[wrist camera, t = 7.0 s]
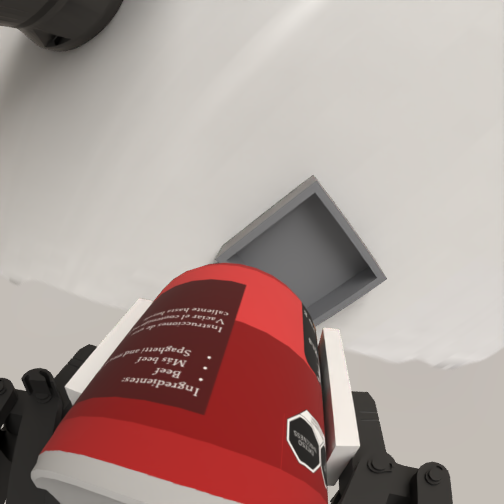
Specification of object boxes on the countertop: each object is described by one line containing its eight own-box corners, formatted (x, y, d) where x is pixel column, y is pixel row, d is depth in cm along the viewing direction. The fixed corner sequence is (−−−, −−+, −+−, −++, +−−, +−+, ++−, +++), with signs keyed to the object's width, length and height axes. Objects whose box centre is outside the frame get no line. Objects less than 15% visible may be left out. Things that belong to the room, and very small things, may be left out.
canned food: (273, 405, 17) (250, 585, 6) (144, 348, 16) (44, 510, 6) (348, 303, 14) (401, 544, 4) (186, 227, 14) (-1, 413, 3)
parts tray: (222, 245, 36) (215, 259, 32) (313, 174, 32) (316, 180, 28) (291, 321, 38) (291, 341, 35) (377, 263, 34) (387, 279, 31)
